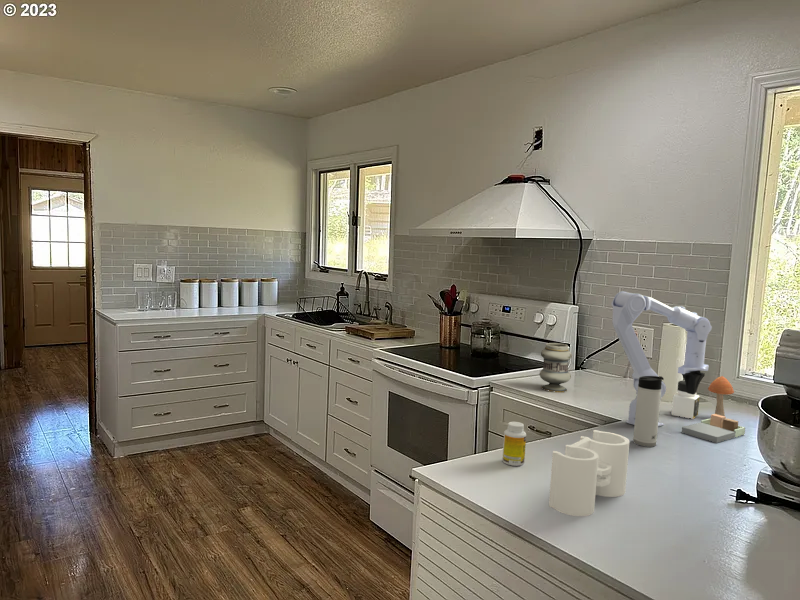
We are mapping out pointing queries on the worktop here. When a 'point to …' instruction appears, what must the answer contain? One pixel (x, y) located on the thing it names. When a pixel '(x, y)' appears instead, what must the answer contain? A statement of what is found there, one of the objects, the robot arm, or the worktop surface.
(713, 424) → the terracotta tile
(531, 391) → the worktop surface
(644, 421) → the travel mug
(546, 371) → the apothecary jar
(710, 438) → the slate board
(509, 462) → the supplement bottle
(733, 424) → the walnut tile
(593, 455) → the bracket
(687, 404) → the medicine bottle
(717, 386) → the mushroom
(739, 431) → the sage tray
